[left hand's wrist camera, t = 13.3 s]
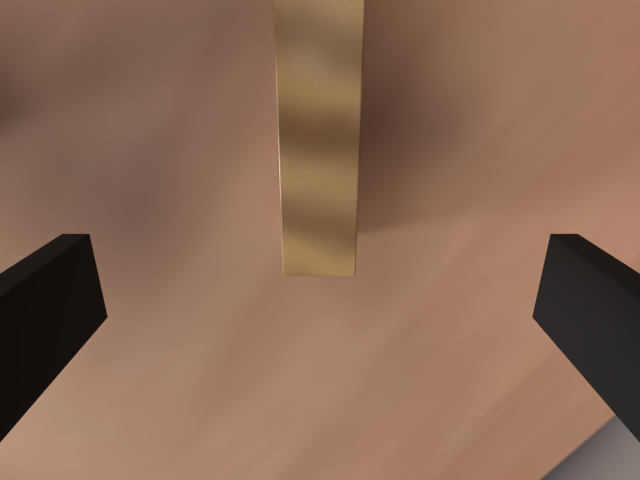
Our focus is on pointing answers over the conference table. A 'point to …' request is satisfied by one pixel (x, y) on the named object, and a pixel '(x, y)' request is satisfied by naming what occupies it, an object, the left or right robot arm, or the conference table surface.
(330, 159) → the post
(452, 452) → the conference table surface
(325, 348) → the conference table surface
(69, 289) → the left robot arm
